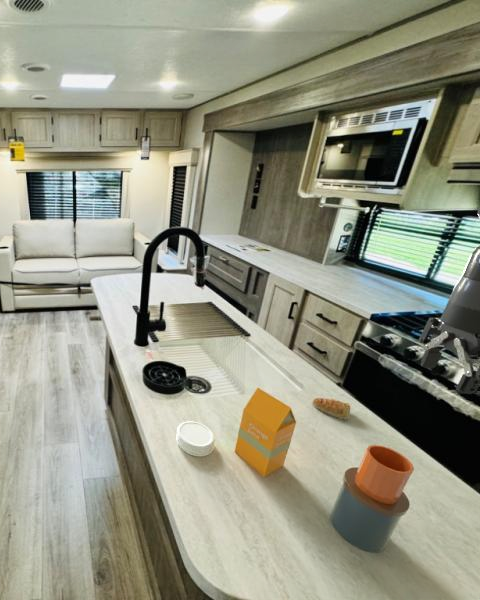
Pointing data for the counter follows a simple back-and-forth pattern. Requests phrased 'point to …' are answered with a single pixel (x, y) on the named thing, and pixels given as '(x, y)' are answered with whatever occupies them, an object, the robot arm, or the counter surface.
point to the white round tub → (195, 438)
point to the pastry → (333, 407)
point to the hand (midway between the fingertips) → (444, 378)
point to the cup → (383, 474)
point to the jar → (365, 516)
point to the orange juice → (265, 432)
